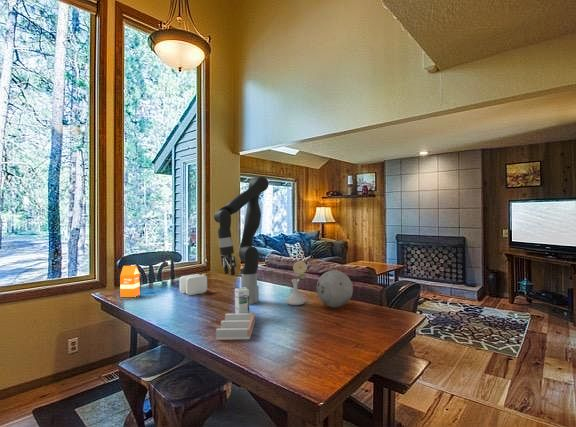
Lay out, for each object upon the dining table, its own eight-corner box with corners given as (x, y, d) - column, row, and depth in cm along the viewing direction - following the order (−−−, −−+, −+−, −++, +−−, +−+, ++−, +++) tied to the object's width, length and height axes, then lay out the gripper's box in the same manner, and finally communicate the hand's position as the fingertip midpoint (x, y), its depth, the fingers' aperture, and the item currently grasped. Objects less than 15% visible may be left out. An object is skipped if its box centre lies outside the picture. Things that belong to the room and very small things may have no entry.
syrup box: (238, 319, 156) (238, 290, 156) (235, 316, 161) (234, 288, 161) (249, 318, 159) (249, 289, 159) (245, 314, 164) (245, 286, 164)
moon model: (360, 306, 176) (359, 270, 176) (339, 314, 162) (338, 275, 162) (331, 299, 190) (330, 266, 190) (309, 307, 176) (308, 270, 176)
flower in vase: (282, 305, 179) (282, 261, 179) (290, 300, 190) (289, 258, 190) (304, 308, 174) (303, 262, 174) (310, 302, 185) (310, 259, 185)
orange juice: (134, 298, 201) (133, 266, 201) (120, 298, 202) (119, 266, 202) (139, 294, 209) (139, 264, 209) (126, 295, 209) (126, 264, 209)
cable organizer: (186, 296, 203) (185, 278, 203) (179, 293, 211) (178, 276, 211) (207, 292, 213) (207, 275, 213) (200, 289, 221) (199, 273, 221)
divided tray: (215, 339, 132) (215, 330, 132) (226, 321, 154) (225, 313, 154) (249, 339, 132) (249, 329, 132) (254, 321, 154) (254, 313, 154)
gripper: (237, 244, 173) (241, 274, 173) (227, 244, 185) (230, 272, 185) (224, 247, 169) (228, 277, 169) (214, 246, 180) (218, 274, 180)
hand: (229, 274), depth 177 cm, fingers open, 8 cm apart
